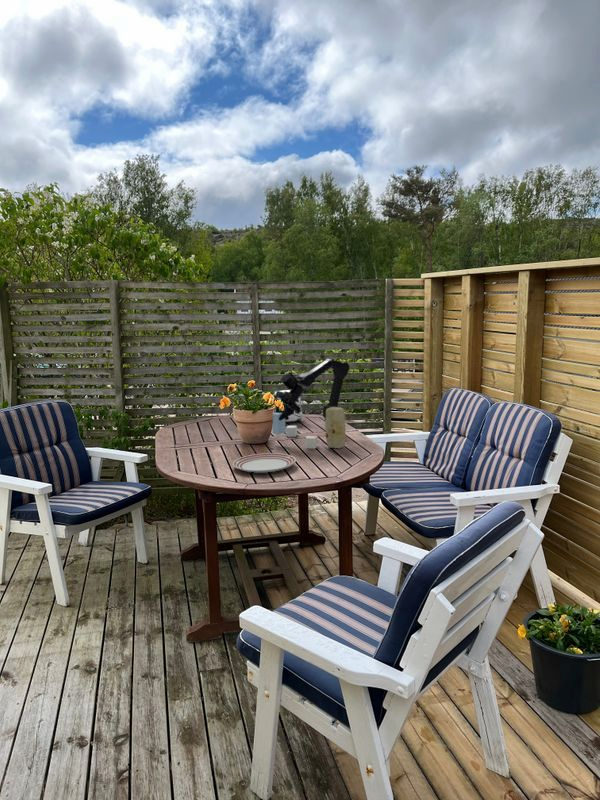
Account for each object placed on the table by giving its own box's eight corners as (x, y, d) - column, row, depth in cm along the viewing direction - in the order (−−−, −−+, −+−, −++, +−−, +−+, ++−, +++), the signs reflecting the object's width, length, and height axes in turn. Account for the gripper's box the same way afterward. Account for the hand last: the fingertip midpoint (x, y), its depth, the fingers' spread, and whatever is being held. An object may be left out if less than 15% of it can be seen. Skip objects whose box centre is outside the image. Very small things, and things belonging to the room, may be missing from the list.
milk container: (304, 423, 345) (303, 393, 342) (275, 425, 343) (274, 394, 340) (300, 418, 362) (299, 389, 359) (272, 419, 360) (271, 390, 357)
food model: (344, 445, 290) (343, 405, 287) (346, 448, 284) (346, 408, 281) (324, 446, 289) (324, 406, 286) (327, 449, 283) (326, 408, 279)
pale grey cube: (297, 434, 317) (297, 425, 316) (295, 436, 312) (295, 427, 311) (288, 434, 318) (287, 425, 317) (286, 436, 313) (285, 427, 312)
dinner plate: (239, 479, 238) (238, 472, 238) (228, 463, 264) (227, 455, 264) (303, 473, 246) (303, 465, 245) (286, 457, 272) (286, 450, 271)
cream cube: (317, 446, 291) (317, 436, 290) (315, 448, 286) (315, 438, 285) (307, 445, 292) (307, 436, 291) (305, 448, 287) (305, 438, 286)
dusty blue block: (280, 431, 298) (280, 412, 297) (285, 432, 295) (285, 413, 293) (273, 432, 296) (272, 413, 294) (278, 434, 292) (277, 414, 290)
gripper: (274, 383, 301) (256, 407, 296) (295, 386, 286) (277, 412, 281) (287, 396, 307) (270, 420, 302) (308, 401, 292) (291, 425, 287)
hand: (276, 419), depth 293 cm, fingers closed on dusty blue block, 4 cm apart
